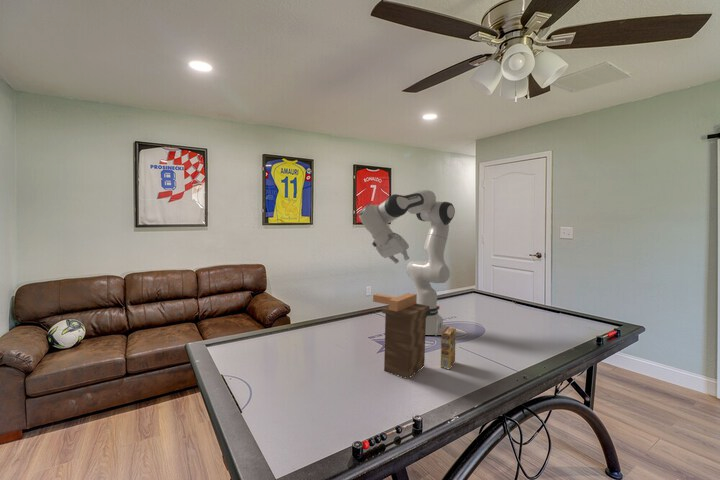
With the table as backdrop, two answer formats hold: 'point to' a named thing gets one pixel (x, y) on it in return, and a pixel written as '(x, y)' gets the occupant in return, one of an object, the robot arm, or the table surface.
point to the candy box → (448, 347)
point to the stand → (405, 339)
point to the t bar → (396, 301)
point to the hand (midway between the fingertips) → (402, 261)
